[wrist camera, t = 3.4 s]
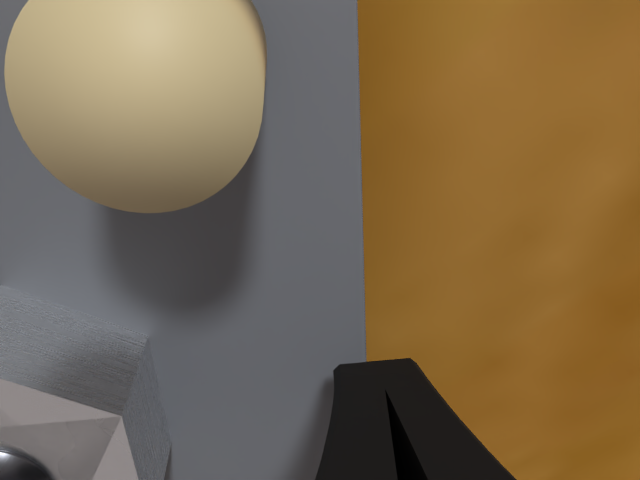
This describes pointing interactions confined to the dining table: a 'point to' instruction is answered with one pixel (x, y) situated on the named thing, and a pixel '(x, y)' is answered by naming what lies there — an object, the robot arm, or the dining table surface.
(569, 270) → the dining table surface
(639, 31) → the dining table surface
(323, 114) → the board
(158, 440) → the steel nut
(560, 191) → the dining table surface
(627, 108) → the dining table surface
